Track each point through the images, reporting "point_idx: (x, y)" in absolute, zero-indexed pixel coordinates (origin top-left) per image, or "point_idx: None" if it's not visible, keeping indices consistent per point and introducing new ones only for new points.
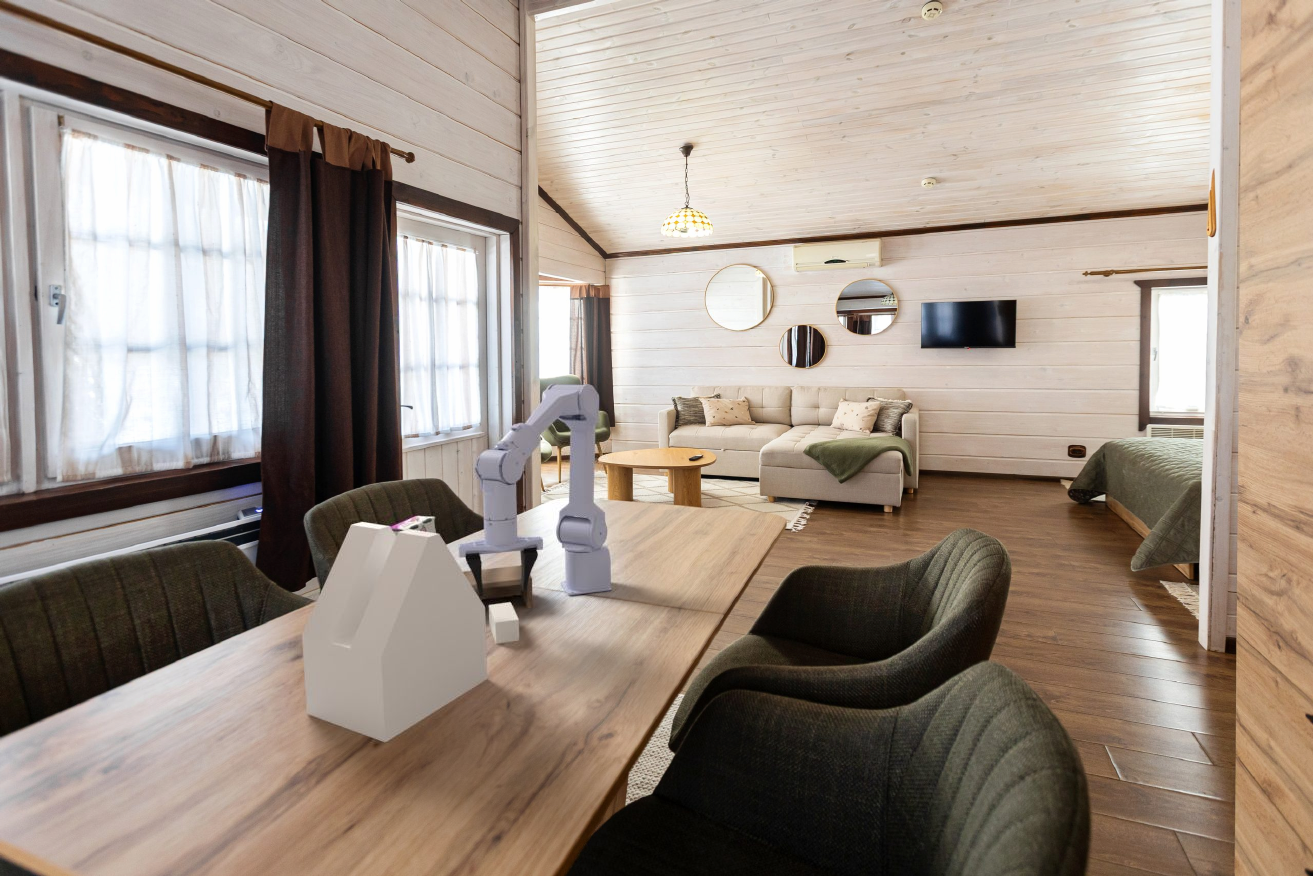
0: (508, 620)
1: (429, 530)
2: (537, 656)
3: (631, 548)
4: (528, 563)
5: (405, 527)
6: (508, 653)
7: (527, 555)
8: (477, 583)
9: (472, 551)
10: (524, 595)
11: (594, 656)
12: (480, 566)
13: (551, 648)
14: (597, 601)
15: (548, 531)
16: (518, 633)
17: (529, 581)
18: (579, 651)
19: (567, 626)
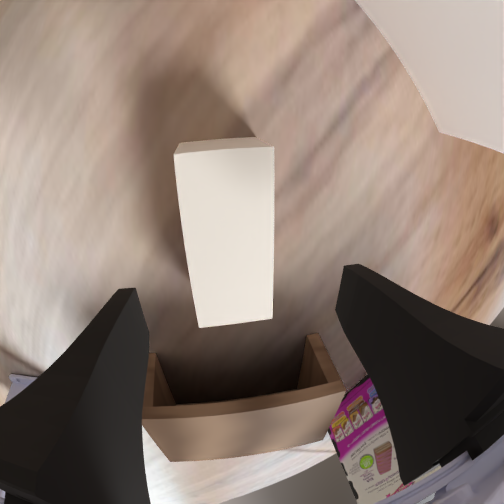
0: (217, 156)
1: (377, 500)
2: (141, 15)
3: None
4: (40, 412)
5: None
6: (225, 53)
7: (10, 481)
8: (409, 292)
9: (499, 449)
10: (166, 392)
11: (11, 16)
12: (477, 354)
13: (90, 62)
14: (14, 341)
15: (161, 498)
16: (180, 145)
17: (145, 411)
18: (29, 41)
19: (41, 218)
